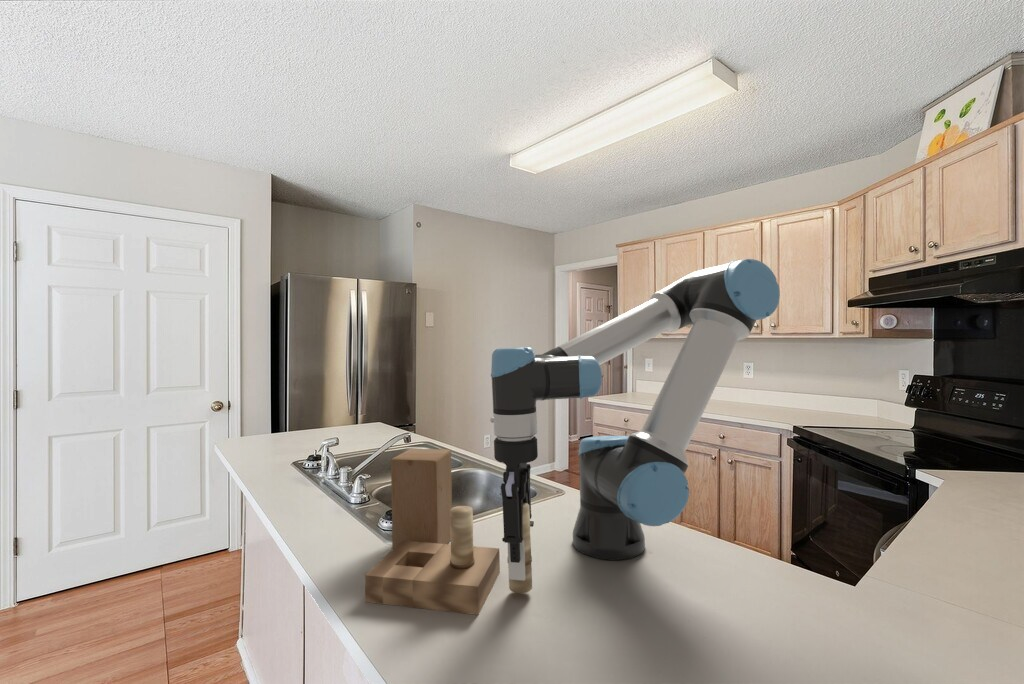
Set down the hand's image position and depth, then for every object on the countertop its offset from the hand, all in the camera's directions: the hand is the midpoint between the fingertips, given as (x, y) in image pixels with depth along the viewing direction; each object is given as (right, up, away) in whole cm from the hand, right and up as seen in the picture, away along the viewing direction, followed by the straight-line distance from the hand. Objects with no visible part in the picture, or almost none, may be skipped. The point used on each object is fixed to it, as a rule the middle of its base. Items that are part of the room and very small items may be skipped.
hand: (520, 571), depth 79 cm
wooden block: (-20, -5, +20) cm, 29 cm away
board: (-15, -4, +3) cm, 16 cm away
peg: (0, -3, 0) cm, 3 cm away
